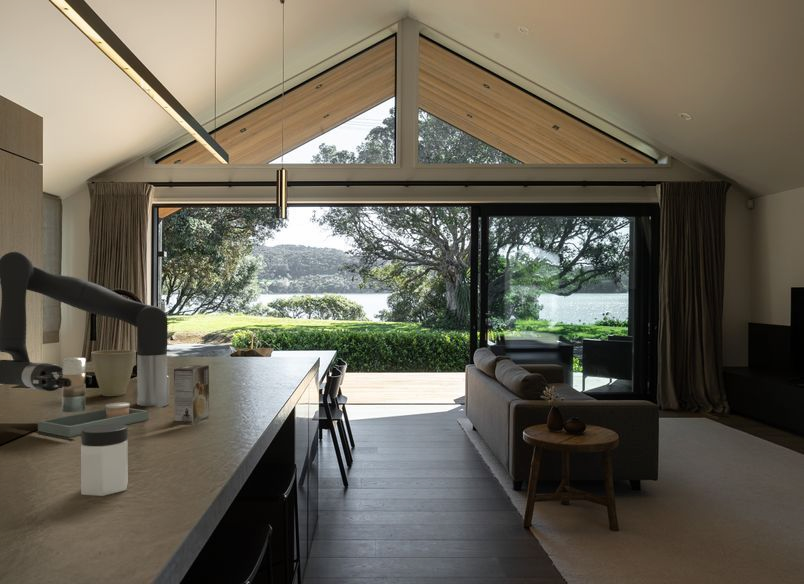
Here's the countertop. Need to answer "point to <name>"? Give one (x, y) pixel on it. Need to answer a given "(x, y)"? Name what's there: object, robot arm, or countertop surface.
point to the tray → (86, 422)
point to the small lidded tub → (117, 409)
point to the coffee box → (191, 393)
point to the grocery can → (74, 384)
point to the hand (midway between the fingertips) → (79, 381)
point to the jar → (104, 459)
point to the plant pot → (113, 370)
